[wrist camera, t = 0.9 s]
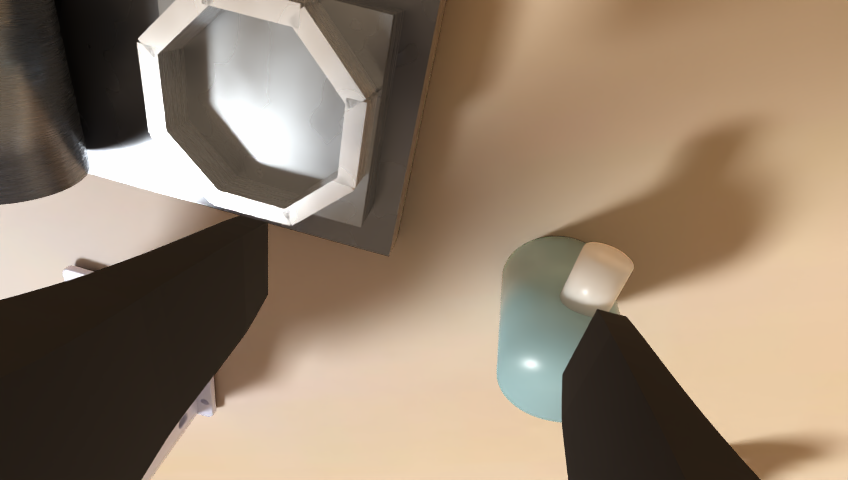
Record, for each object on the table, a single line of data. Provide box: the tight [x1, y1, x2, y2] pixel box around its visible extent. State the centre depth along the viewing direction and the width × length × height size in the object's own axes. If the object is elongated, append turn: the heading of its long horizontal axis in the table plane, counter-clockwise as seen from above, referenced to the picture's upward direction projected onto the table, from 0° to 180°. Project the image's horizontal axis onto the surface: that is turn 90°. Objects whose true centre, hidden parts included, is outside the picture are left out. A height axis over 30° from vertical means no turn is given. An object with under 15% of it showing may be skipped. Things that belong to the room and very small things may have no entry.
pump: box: [497, 236, 634, 422], centre depth 17 cm, size 6×4×6 cm
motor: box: [0, 0, 446, 256], centre depth 14 cm, size 11×18×6 cm, turn 78°
